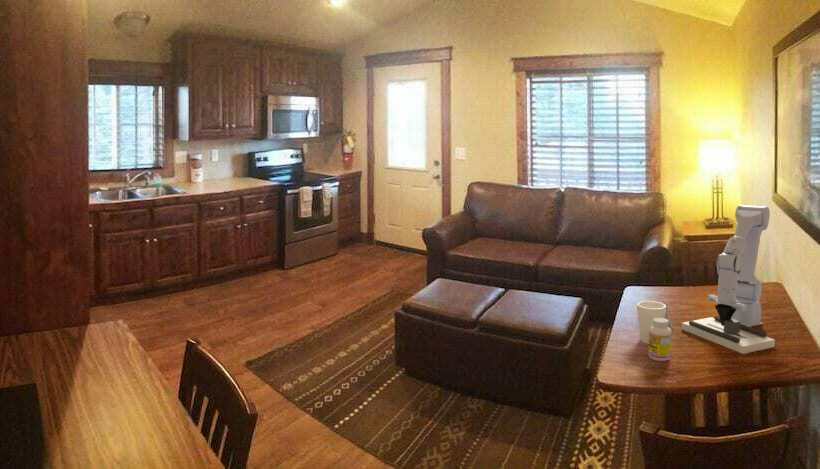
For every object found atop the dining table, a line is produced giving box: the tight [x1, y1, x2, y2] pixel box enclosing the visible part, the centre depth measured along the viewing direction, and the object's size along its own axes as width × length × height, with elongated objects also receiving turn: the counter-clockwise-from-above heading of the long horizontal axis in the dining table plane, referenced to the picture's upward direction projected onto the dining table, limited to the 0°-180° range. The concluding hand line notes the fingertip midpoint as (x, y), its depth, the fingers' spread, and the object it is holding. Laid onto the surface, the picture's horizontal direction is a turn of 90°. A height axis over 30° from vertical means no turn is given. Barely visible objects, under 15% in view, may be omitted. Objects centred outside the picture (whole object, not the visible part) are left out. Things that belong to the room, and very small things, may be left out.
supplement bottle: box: [648, 318, 673, 362], centre depth 192 cm, size 7×7×13 cm
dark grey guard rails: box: [688, 315, 768, 343], centre depth 207 cm, size 14×20×2 cm
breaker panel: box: [681, 316, 776, 355], centre depth 208 cm, size 14×26×3 cm, turn 20°
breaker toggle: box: [724, 318, 740, 334], centre depth 205 cm, size 4×3×4 cm
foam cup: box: [636, 300, 666, 345], centre depth 207 cm, size 10×9×13 cm
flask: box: [660, 301, 674, 332], centre depth 217 cm, size 7×7×10 cm
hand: (724, 325), depth 208 cm, fingers closed
